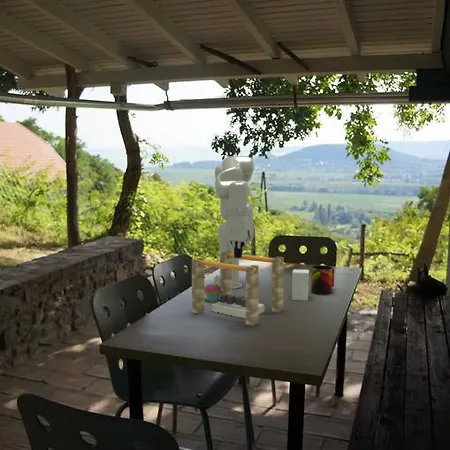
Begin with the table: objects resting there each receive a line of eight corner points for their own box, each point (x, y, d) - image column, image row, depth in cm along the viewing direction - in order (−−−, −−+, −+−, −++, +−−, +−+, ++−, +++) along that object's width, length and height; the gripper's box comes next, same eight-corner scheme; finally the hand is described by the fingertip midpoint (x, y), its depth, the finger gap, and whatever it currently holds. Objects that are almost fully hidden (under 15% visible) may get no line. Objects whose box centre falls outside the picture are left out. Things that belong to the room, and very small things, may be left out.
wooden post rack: (192, 312, 203) (191, 259, 200) (226, 299, 222) (226, 250, 220) (252, 326, 186) (252, 267, 183) (283, 310, 206) (283, 257, 203)
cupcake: (225, 298, 224) (225, 272, 222) (217, 303, 216) (217, 276, 215) (208, 296, 227) (208, 271, 226) (199, 301, 220) (199, 275, 218)
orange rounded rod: (193, 264, 201) (193, 259, 201) (196, 263, 203) (196, 259, 202) (254, 273, 185) (254, 268, 184) (257, 272, 186) (257, 267, 186)
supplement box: (308, 300, 220) (308, 273, 218) (291, 299, 221) (291, 272, 220) (308, 296, 227) (309, 269, 226) (292, 295, 229) (292, 268, 227)
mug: (333, 288, 241) (334, 264, 240) (330, 295, 228) (330, 270, 227) (314, 287, 244) (314, 263, 243) (309, 294, 231) (309, 268, 230)
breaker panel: (212, 311, 205) (211, 297, 204) (228, 304, 214) (228, 291, 214) (248, 319, 194) (248, 304, 194) (264, 311, 204) (264, 297, 203)
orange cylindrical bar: (221, 256, 217) (221, 252, 217) (224, 256, 219) (224, 251, 219) (280, 264, 201) (280, 259, 201) (282, 263, 202) (282, 258, 202)
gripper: (217, 212, 200) (217, 257, 203) (248, 214, 192) (248, 261, 194) (228, 210, 207) (228, 254, 209) (258, 213, 198) (258, 258, 200)
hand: (238, 257), depth 202 cm, fingers closed
